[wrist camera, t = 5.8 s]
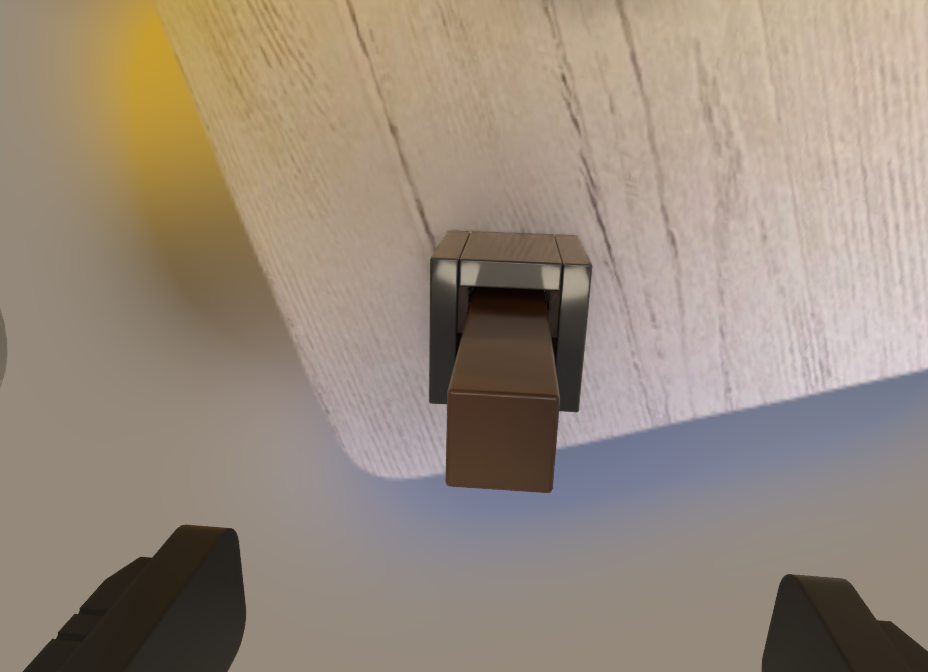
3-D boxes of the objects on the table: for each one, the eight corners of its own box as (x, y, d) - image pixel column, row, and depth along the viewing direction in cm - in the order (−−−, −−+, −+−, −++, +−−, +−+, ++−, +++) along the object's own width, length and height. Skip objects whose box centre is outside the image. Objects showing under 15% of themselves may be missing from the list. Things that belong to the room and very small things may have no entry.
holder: (444, 352, 26) (428, 404, 22) (447, 230, 25) (430, 257, 20) (567, 358, 26) (578, 412, 21) (578, 235, 24) (592, 264, 20)
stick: (477, 323, 26) (445, 488, 14) (479, 264, 25) (447, 390, 14) (537, 326, 26) (552, 495, 14) (541, 267, 25) (560, 396, 13)
